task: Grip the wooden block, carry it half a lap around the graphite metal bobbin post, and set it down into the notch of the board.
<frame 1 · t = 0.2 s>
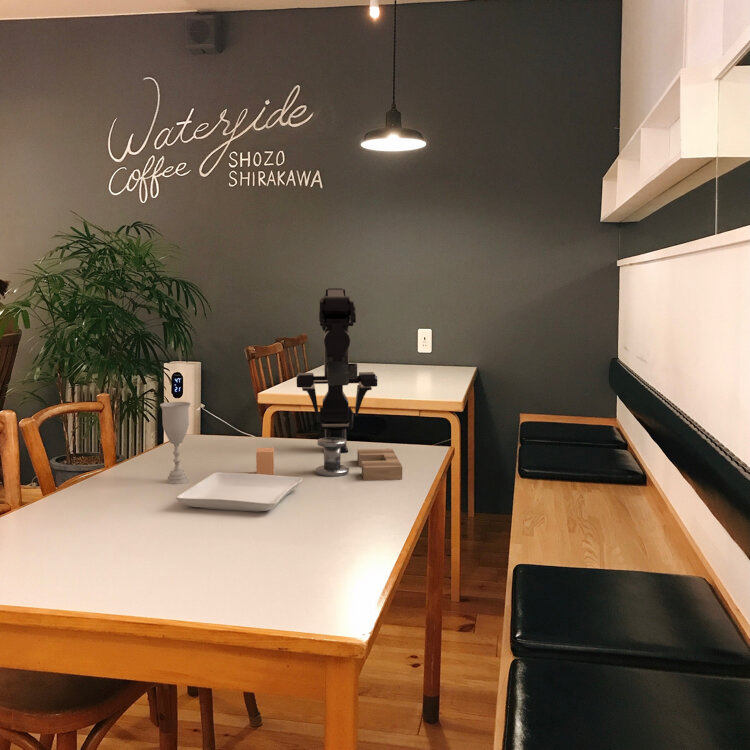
hand: (336, 416, 193), 14 cm above the table, fingers open, 9 cm apart
chalice: (177, 481, 189), on the table
salad plate: (242, 502, 174), on the table
bobbin: (332, 472, 198), on the table
wooden block: (265, 474, 196), on the table
notched board: (378, 469, 201), on the table
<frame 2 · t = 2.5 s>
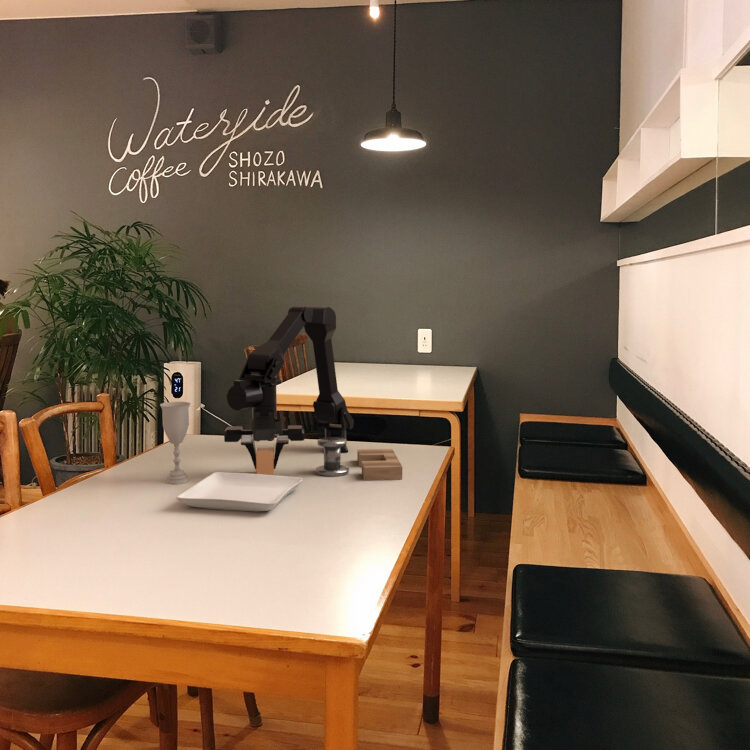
hand: (265, 469, 196), 1 cm above the table, fingers closed on wooden block, 4 cm apart
wooden block: (265, 474, 196), on the table, touching gripper
everything else where it was.
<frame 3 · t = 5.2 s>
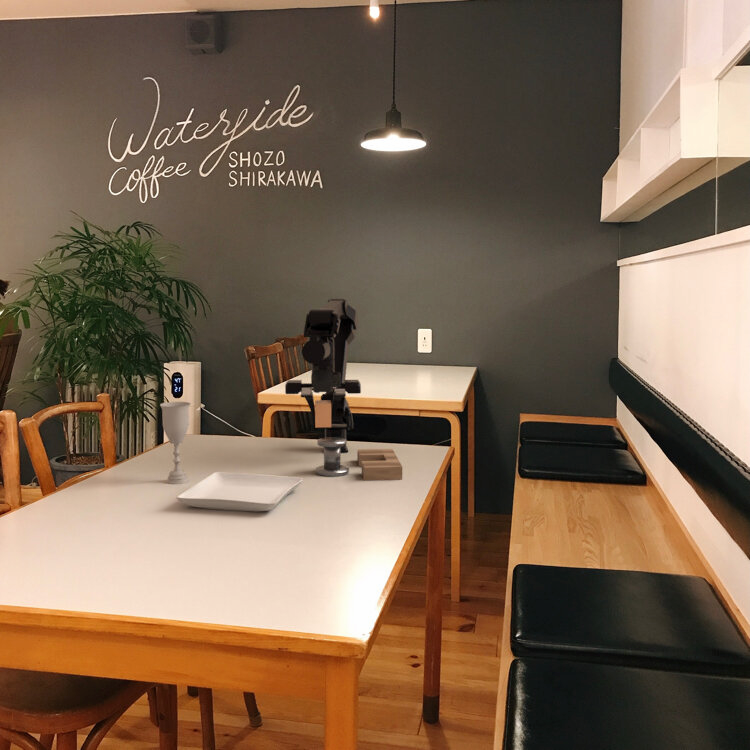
hand: (323, 420, 207), 11 cm above the table, fingers closed on wooden block, 4 cm apart
wooden block: (323, 425, 207), point 10 cm above the table, touching gripper
everything else where it was.
when the fingers open (3 cm above the table, at t = 8.1 s): wooden block drops 2 cm, on the table.
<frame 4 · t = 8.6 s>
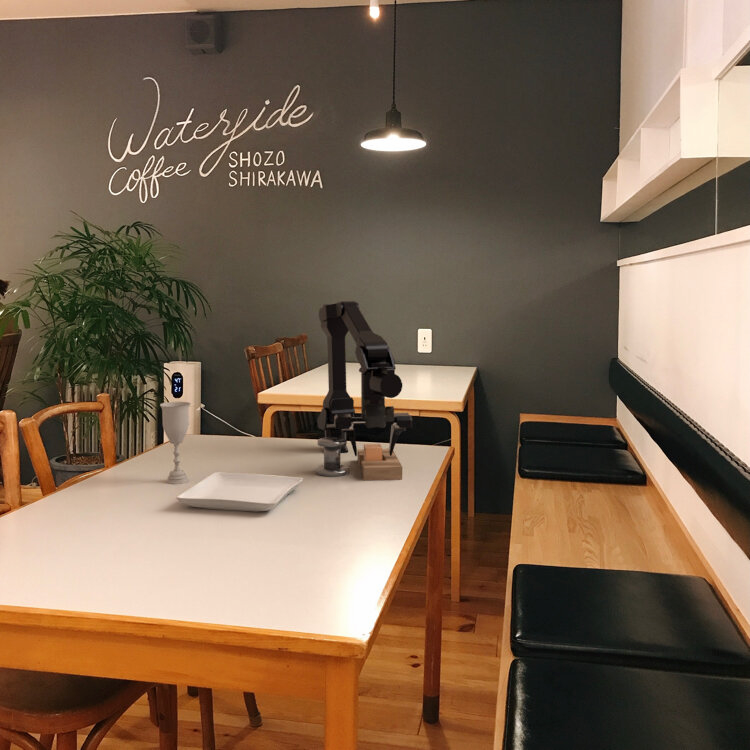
hand: (373, 455, 200), 4 cm above the table, fingers open, 8 cm apart
wooden block: (372, 470, 200), on the table
everything else where it was.
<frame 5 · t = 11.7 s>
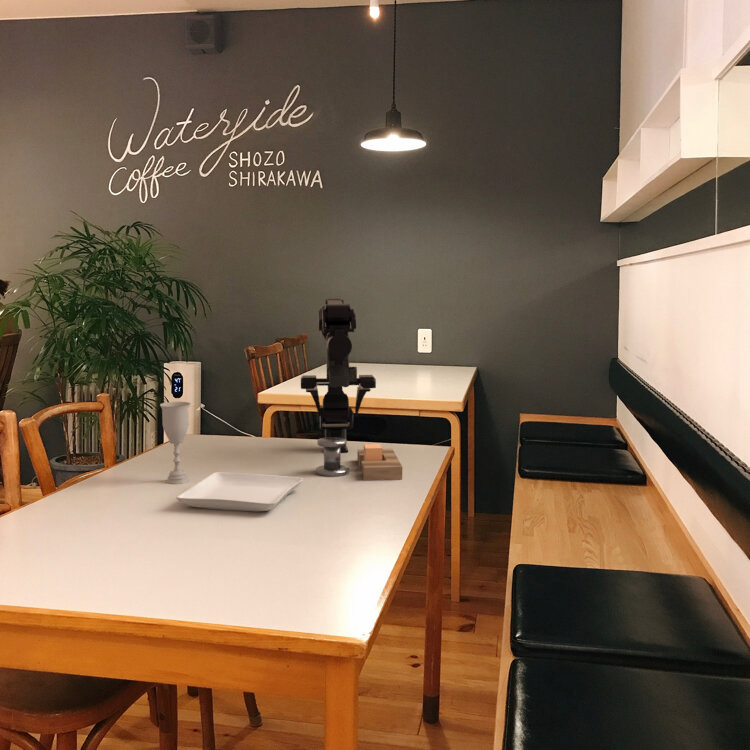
hand: (338, 415, 207), 12 cm above the table, fingers open, 9 cm apart
nothing on the table moved.
at the end: wooden block 0.3 cm from the target spot on the notched board, point 0.0 cm above the notched board's base; wooden block tilted 0°; the gripper is holding nothing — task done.
